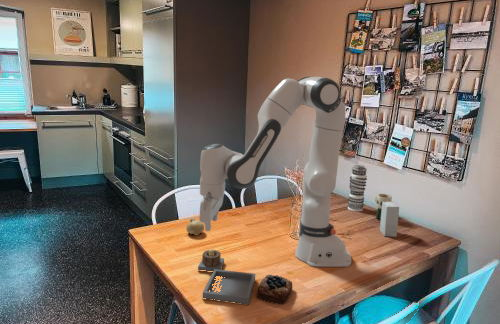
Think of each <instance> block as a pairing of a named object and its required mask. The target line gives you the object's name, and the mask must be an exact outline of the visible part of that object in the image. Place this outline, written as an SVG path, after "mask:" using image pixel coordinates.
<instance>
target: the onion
mask: <svg viewBox="0 0 500 324" xmlns="http://www.w3.org/2000/svg"><path fill="white" fill-rule="evenodd" d="M204 230H205V224H204V223H203V222H200V219H196V218H191V219H190V220H189V221H188V223H187V224H186V232H187V233H188V234H189V233H190V234H189V235H192V234H199V235H201V234H202V233H203V231H204ZM200 233H201V234H200Z"/></svg>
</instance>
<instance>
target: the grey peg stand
mask: <svg viewBox="0 0 500 324" xmlns="http://www.w3.org/2000/svg"><path fill="white" fill-rule="evenodd" d="M208 250H209V256H214V250H215V249H211V248H210V249H208ZM223 263H224V264H225V258H223V257H220V264H219V265H217V266H214V267H213V266H212V267H209V266H205V265H204V264H203V263H202V260H200V263H199V264H198V266H197V271H198V270H206V271H214V269H217V270H222V269H221V267H222V265H223V266H224V264H223ZM222 268H223V267H222Z"/></svg>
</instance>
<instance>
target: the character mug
mask: <svg viewBox="0 0 500 324" xmlns="http://www.w3.org/2000/svg"><path fill="white" fill-rule="evenodd" d="M392 198H393V197H392V195H391V194H387V193H378V194H377V195H376V196H375V199H374V202H375V203H376V204H375V205H376V207H377V211H376V213H375V218H376V219H378V220H380V221H381V211H382V202H393V201H392Z"/></svg>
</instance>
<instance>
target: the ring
mask: <svg viewBox="0 0 500 324" xmlns="http://www.w3.org/2000/svg"><path fill="white" fill-rule="evenodd" d="M209 250H210V249H208V250H205V251H203V252H202V257H201V258H202V259H201V261H202V263H203V264H204V265H205V266H209V267H212V266H213V267H214V266H217V265H219V264H220V258H221V251H219V250H216V249H213V250H214V256H209Z"/></svg>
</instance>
